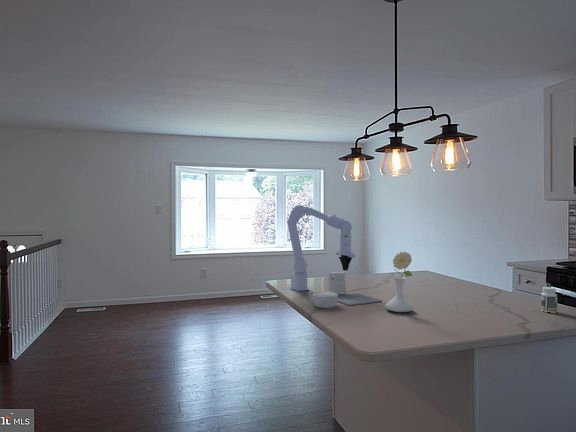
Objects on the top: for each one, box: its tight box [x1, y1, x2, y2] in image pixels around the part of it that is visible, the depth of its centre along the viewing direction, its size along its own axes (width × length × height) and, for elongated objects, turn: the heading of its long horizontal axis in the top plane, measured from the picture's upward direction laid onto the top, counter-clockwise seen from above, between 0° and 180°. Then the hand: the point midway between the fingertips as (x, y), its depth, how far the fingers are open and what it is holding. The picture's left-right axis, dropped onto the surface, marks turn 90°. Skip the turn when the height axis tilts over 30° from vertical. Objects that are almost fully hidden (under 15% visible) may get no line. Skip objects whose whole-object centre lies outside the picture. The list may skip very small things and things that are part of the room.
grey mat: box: [337, 292, 382, 307], centre depth 188 cm, size 18×18×1 cm
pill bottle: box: [540, 286, 558, 314], centre depth 167 cm, size 6×6×10 cm
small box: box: [328, 271, 347, 295], centre depth 199 cm, size 8×6×10 cm
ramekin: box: [312, 290, 339, 309], centre depth 176 cm, size 11×11×5 cm
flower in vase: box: [384, 251, 415, 313], centre depth 167 cm, size 13×11×25 cm
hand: (345, 270), depth 210 cm, fingers closed
